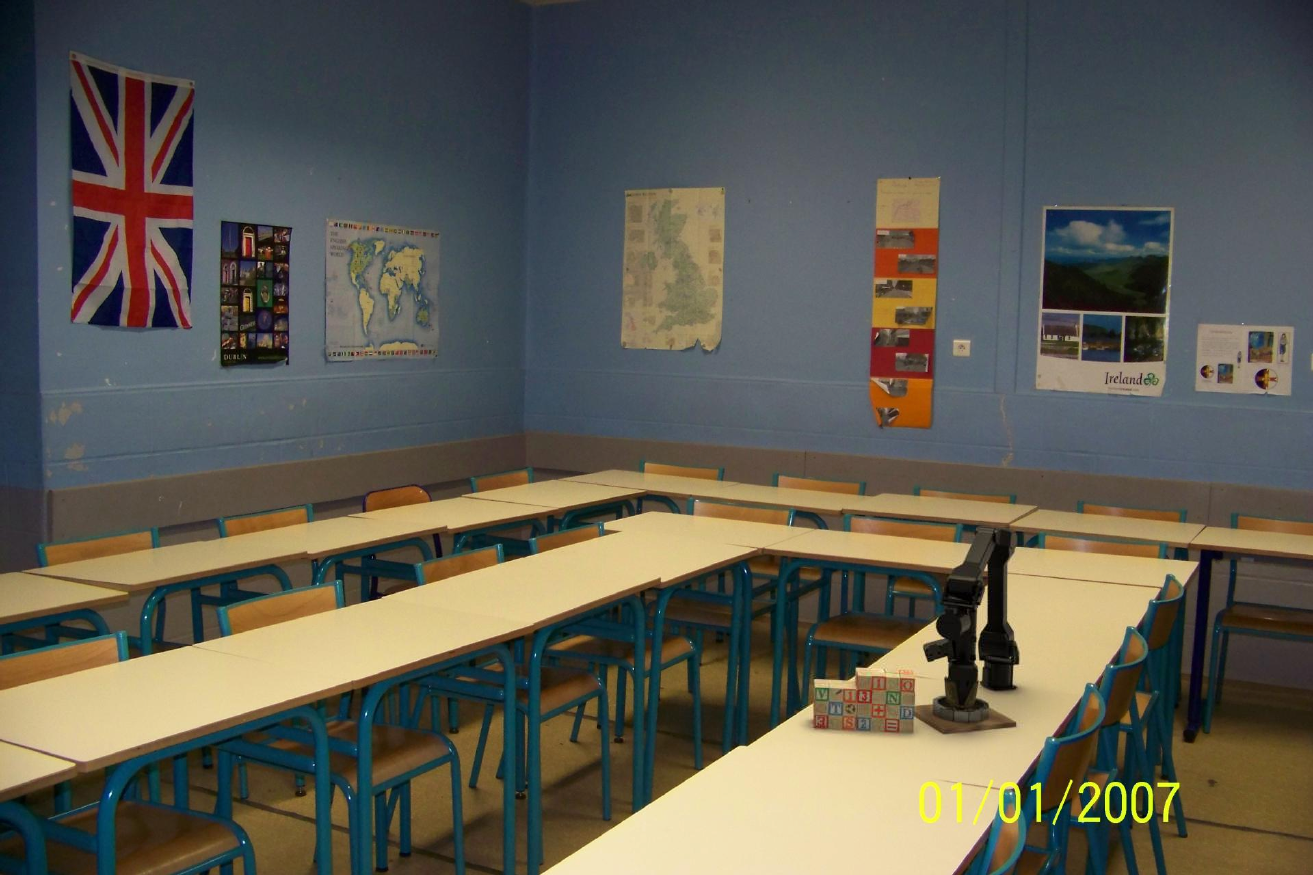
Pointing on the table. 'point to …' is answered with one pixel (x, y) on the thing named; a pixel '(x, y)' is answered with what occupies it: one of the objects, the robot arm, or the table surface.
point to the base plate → (946, 726)
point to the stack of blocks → (866, 701)
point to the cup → (952, 695)
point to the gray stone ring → (961, 711)
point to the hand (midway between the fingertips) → (960, 698)
